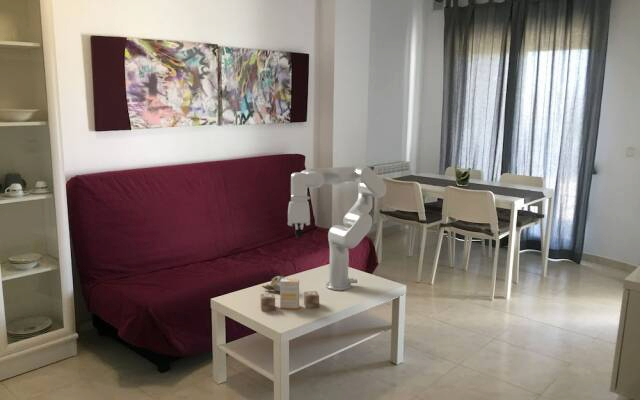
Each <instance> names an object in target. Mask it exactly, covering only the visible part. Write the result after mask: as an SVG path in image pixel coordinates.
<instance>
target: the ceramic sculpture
mask: <svg viewBox="0 0 640 400" xmlns="http://www.w3.org/2000/svg"><path fill="white" fill-rule="evenodd" d="M282 278H285V276H284V275H282V274H279V275H277V276H274V277H273V278H271V281H270V284H265V285H261V287H262V288H263V289H265V290H266V291H267V290H268V291H275V292H280V281H281V279H282Z"/></svg>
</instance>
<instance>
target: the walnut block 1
mask: <svg viewBox="0 0 640 400" xmlns="http://www.w3.org/2000/svg"><path fill="white" fill-rule="evenodd" d="M260 310H261V312H271V311H276V297H275V294H274V292H273V293H260Z"/></svg>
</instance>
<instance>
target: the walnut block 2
mask: <svg viewBox="0 0 640 400" xmlns="http://www.w3.org/2000/svg"><path fill="white" fill-rule="evenodd" d="M303 305H304V307H305V309H319V308H320V295H319V293H318V291H317V290H315V291H314V290H312V291H304V292H303Z"/></svg>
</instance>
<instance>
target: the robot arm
mask: <svg viewBox="0 0 640 400" xmlns="http://www.w3.org/2000/svg"><path fill="white" fill-rule="evenodd" d="M353 183H357V191H358V192H357V193H358V195H357V200H356V202H355V203H354V204H353V205H352V207H351V208H350V209H349V210H348V211H347V212H346V213H345V215H344V217H343V220H342V221H343V222H342V223H343V225H340V224H335V225H333V226H331V227H330V228H329V230H328V233H327V237H328V238H327V239H328V245H329V267H328V268H329V269H328V270H329V271H328V273H329V274H328V282H326V284H325V287H326V288H327V289H328V290H332V291H346V290H350V289H351V288H352V284H357V283H358V279H357V278H349V259H350V258H349V256H350V255H349V249H354V248H355V247H357V246H358V245H359V244H360V242H361V241H362V240H363V239H364V238H365V237H366V236H367V234H368V233H369V232H370V231H371V229H372V226H373V218H372V216H371V215H370V214H369V213H371V210H372V209H373V198H382V197H384V196H385V194H386V192H387V185H386V183H385V182H384V181H383V180H382V179H381V177H379V175H378V174H376V172H374V170H373V169H372V168H370V167H368V166H363V165H355V164H354V165H345V166H337V167H321V168H320V167H319V168H310V169H309V168H308V169H304V170H301V171H300V172H298V171H297V172H292V174H291V175H290V201H289V202H288V207H287V225H288V226H289V227H293V229H295V231H294V232H295V237H297V239H301V238H302V236H303V229H304V228H305V227H306V226H310V225H311V213H310V204H309V201H308V200H310V199H311V196H308V188H311V189H317V188H320V187H323V185H324V184H325V185H332V186H333V185H335V186H336V185H339V186H340V185H346V184H353ZM298 224H299V226H298Z"/></svg>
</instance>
